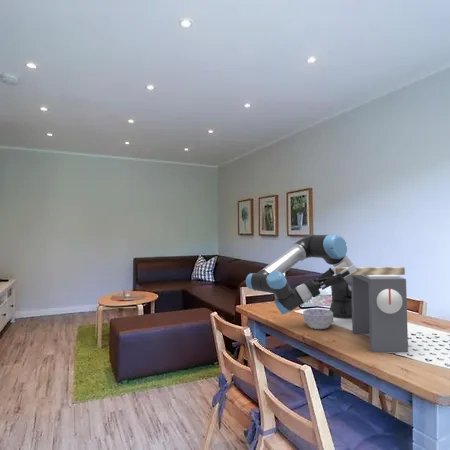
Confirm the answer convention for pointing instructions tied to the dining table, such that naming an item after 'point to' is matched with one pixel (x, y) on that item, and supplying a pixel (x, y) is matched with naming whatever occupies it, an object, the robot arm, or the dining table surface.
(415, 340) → the dining table surface
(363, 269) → the beech bar
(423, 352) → the dining table surface
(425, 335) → the dining table surface
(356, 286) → the scale shelf
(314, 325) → the paper bowls
